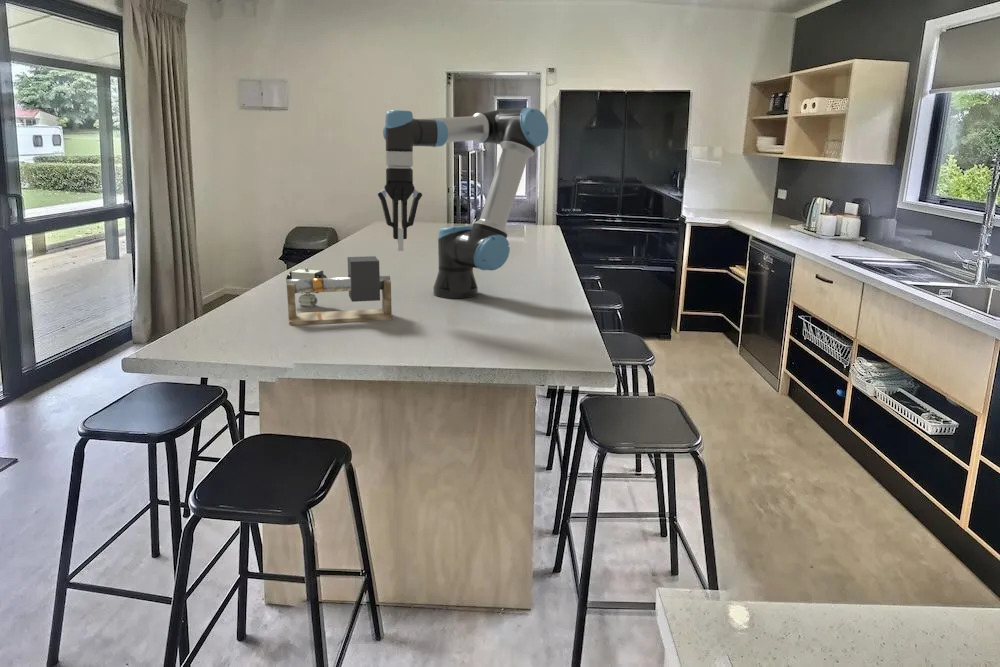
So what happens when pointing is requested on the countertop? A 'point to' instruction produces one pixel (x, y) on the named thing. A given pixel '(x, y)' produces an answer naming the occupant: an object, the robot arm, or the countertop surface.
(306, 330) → the countertop surface
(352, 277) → the collar
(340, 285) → the pipe
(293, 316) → the pipe rig
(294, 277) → the pneumatic valve
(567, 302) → the countertop surface
